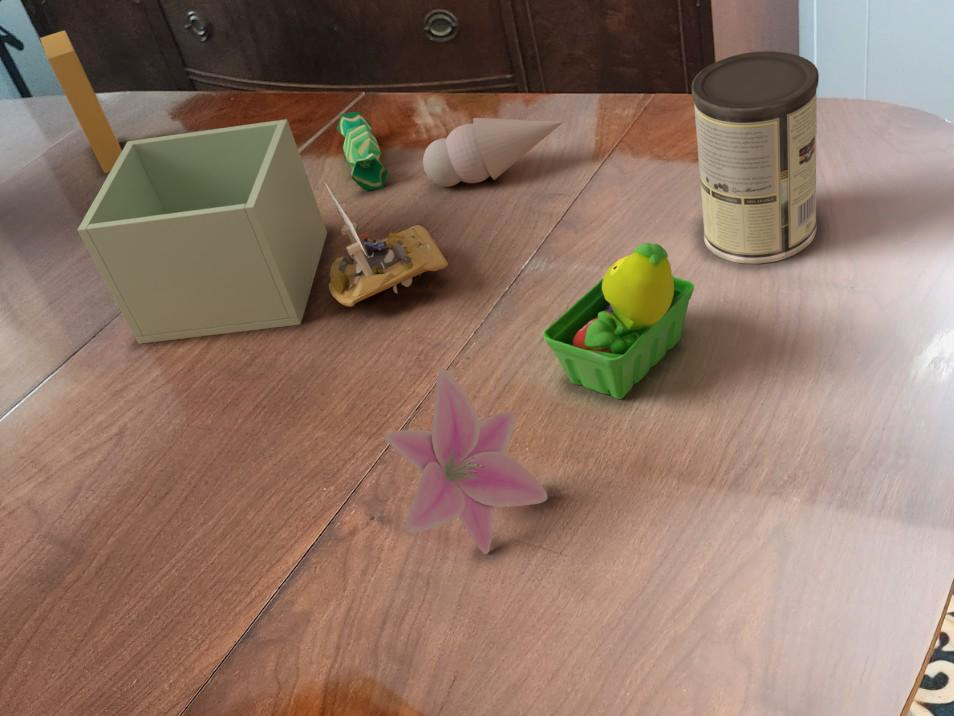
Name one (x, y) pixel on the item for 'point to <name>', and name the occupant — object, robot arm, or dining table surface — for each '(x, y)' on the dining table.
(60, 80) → the orange rectangular block
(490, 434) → the lily
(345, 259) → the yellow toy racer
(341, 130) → the candy
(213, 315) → the waste bin
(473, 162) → the ice cream cone
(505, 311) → the dining table surface
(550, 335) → the fruit basket
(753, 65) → the coffee can
